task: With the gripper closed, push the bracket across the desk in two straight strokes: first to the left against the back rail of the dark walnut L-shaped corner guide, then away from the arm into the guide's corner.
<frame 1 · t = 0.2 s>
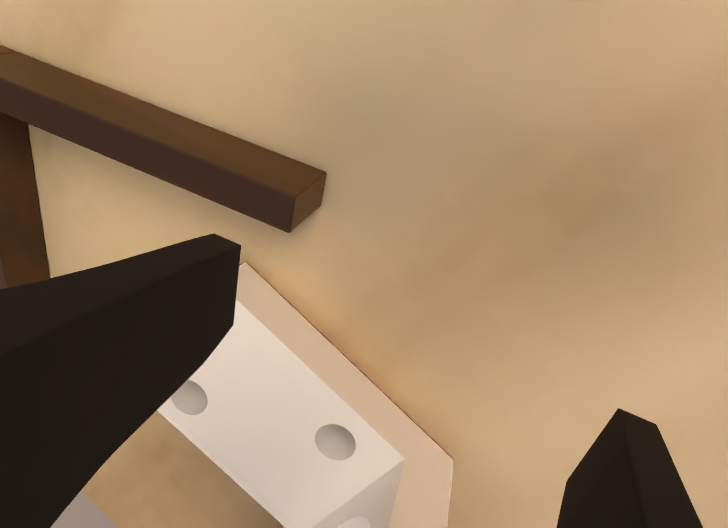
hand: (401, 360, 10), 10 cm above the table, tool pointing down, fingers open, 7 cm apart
corner stop: (144, 273, 27), on the table
bracket: (320, 384, 27), on the table
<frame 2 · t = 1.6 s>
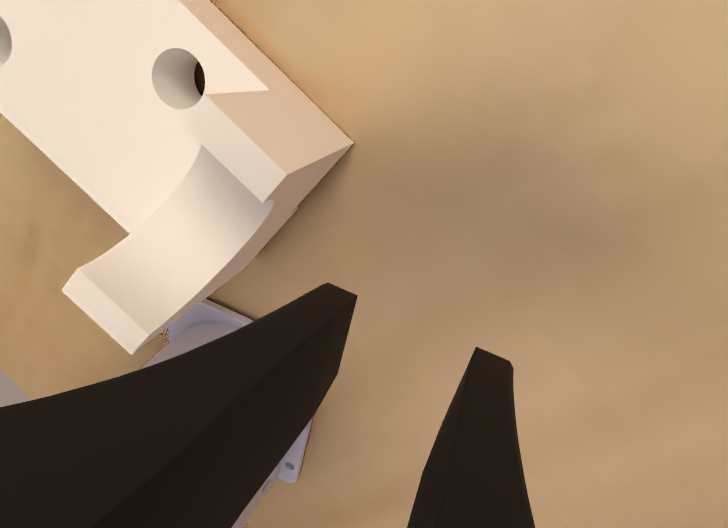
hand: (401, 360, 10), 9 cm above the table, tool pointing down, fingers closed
bracket: (185, 65, 20), on the table
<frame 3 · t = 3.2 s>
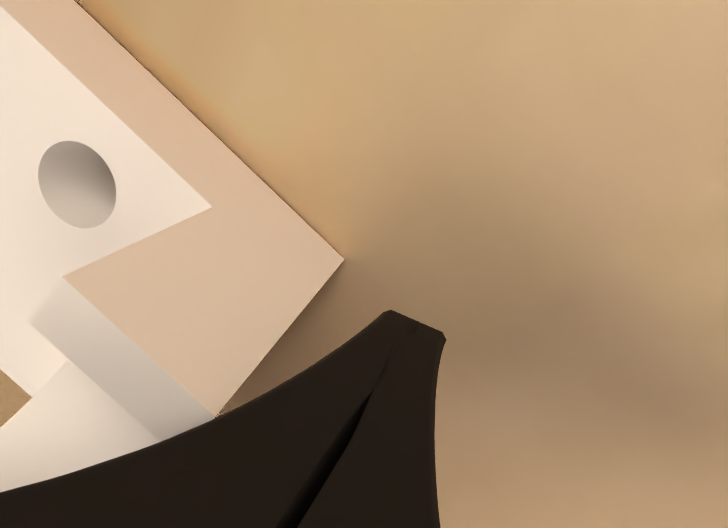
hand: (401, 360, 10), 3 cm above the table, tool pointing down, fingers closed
bracket: (111, 141, 15), on the table, touching gripper
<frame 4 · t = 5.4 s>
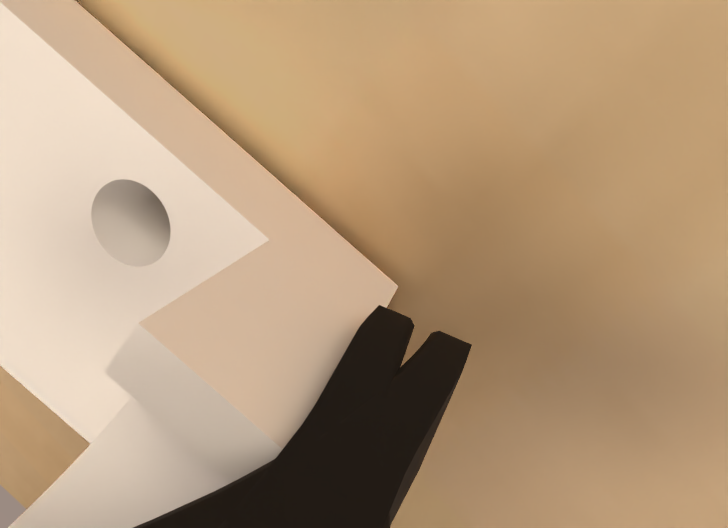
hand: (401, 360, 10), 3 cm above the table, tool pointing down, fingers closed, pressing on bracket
bracket: (155, 176, 15), on the table, touching corner stop, gripper
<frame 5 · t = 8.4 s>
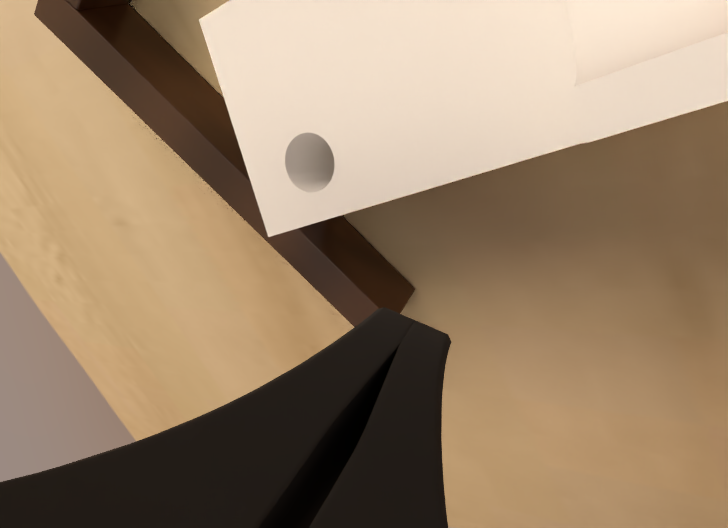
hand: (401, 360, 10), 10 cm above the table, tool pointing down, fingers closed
corner stop: (369, 10, 18), on the table
bracket: (449, 28, 17), on the table
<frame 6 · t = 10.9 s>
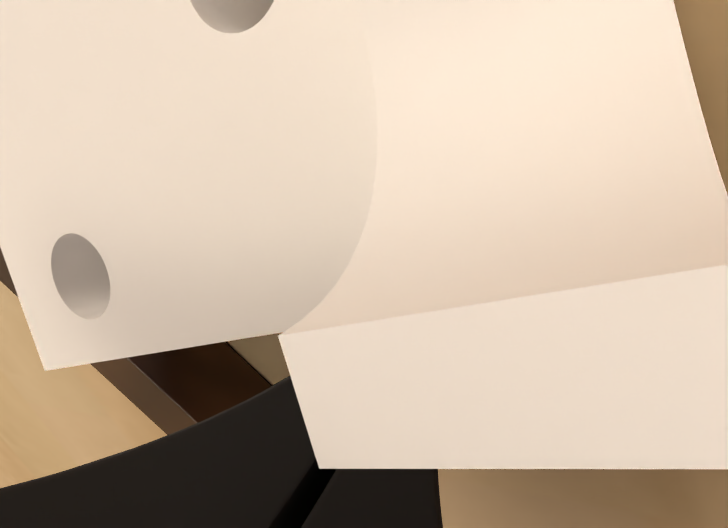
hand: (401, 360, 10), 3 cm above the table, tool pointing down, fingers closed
corner stop: (197, 59, 12), on the table
bracket: (301, 75, 12), on the table, touching gripper
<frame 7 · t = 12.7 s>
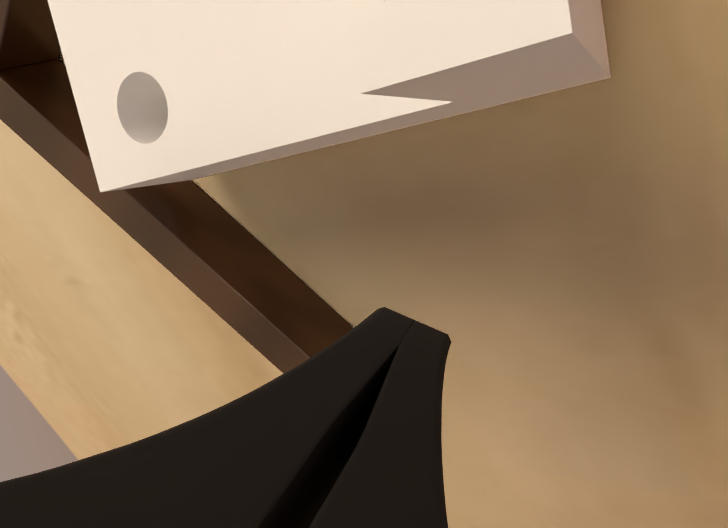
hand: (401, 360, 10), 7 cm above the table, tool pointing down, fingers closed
corner stop: (306, 62, 16), on the table
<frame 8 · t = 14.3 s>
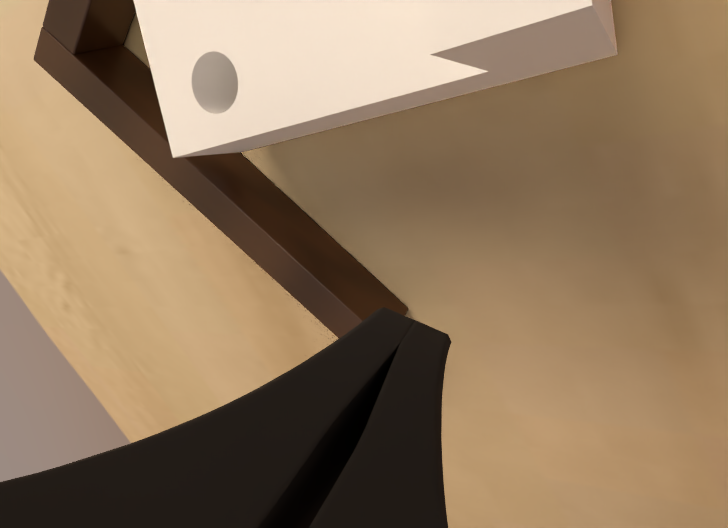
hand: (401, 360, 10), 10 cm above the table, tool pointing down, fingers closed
corner stop: (351, 45, 18), on the table
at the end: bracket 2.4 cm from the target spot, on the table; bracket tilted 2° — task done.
